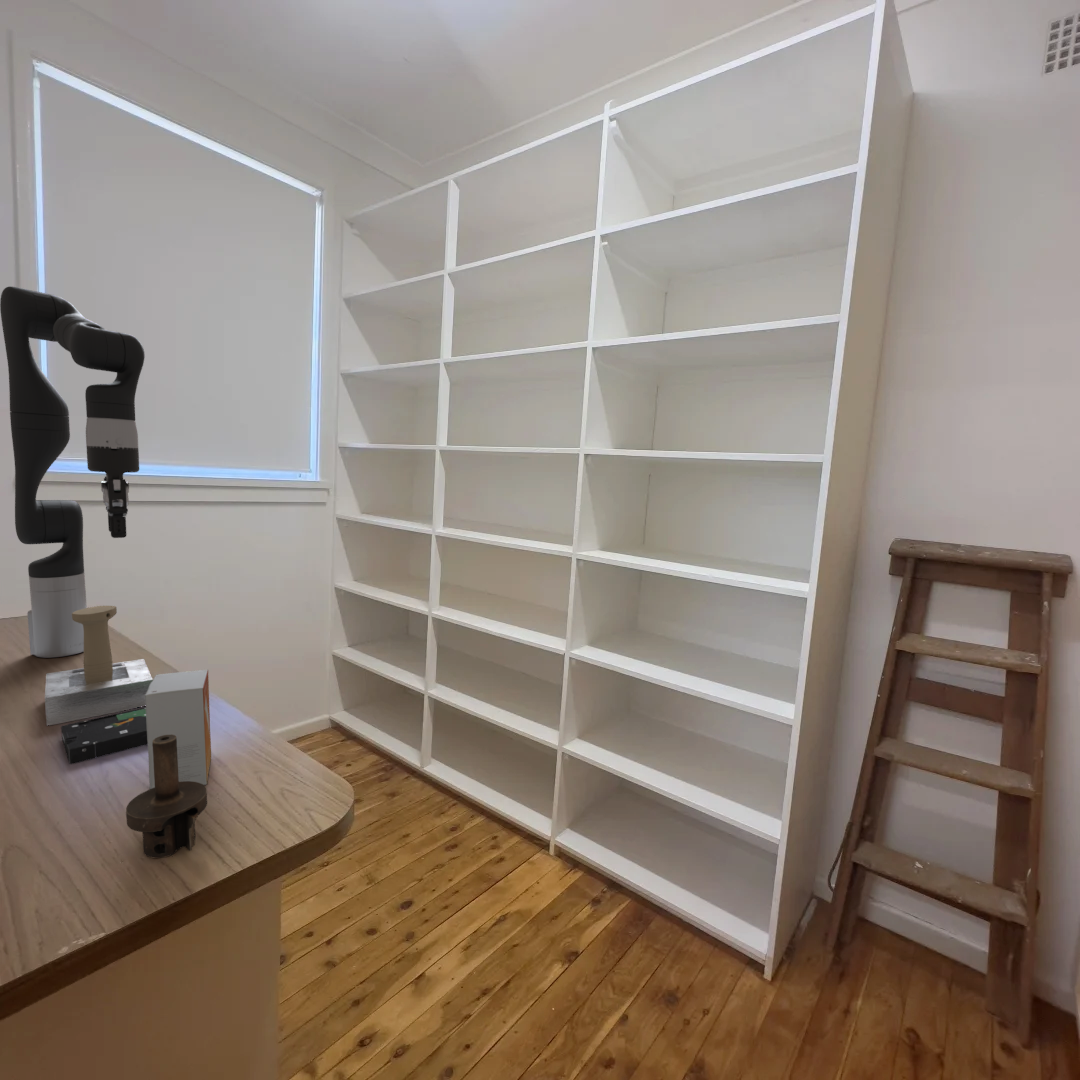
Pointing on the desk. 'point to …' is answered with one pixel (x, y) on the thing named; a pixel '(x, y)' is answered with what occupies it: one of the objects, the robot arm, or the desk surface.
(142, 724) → the disk drive
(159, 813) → the industrial component
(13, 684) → the desk surface
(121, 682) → the socket block
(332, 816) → the desk surface
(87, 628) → the handle
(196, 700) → the small box
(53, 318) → the robot arm
